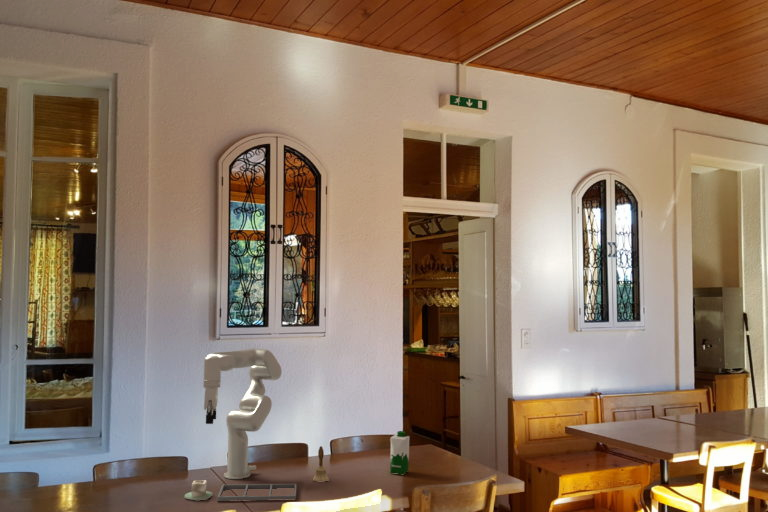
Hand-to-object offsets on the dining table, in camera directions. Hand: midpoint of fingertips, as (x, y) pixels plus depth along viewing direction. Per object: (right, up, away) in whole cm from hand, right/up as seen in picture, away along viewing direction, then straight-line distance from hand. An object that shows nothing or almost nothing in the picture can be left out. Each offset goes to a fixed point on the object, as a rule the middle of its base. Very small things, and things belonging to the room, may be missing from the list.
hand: (210, 421), depth 317 cm
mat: (-2, -30, -13) cm, 33 cm away
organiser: (+23, -31, -10) cm, 40 cm away
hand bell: (+49, -32, +16) cm, 60 cm away
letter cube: (-2, -29, -13) cm, 32 cm away
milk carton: (+86, -33, +30) cm, 97 cm away
